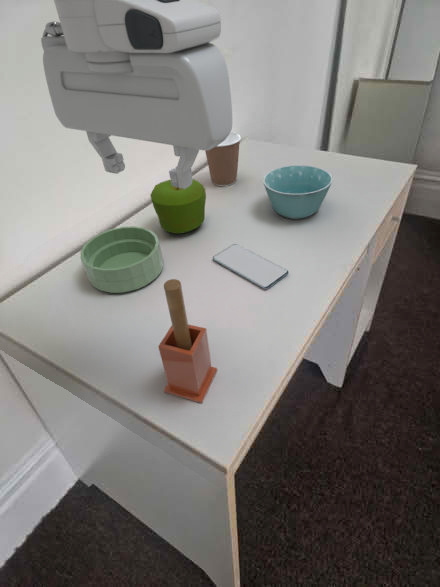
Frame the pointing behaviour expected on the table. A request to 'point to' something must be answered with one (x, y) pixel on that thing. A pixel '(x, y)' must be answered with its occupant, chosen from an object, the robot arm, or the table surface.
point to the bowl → (297, 189)
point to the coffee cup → (224, 161)
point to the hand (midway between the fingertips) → (147, 178)
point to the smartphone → (251, 266)
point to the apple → (179, 206)
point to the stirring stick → (178, 313)
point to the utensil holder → (187, 365)
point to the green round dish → (122, 259)
